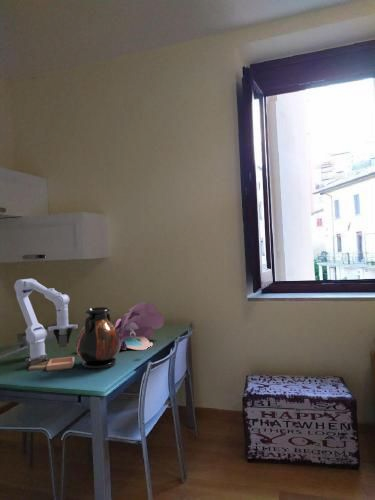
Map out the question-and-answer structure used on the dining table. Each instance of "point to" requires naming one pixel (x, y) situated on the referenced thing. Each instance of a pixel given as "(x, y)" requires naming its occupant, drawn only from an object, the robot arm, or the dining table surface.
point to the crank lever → (35, 360)
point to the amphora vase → (98, 340)
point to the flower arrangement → (139, 326)
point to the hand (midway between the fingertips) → (63, 343)
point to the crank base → (39, 365)
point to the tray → (60, 363)
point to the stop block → (63, 340)
